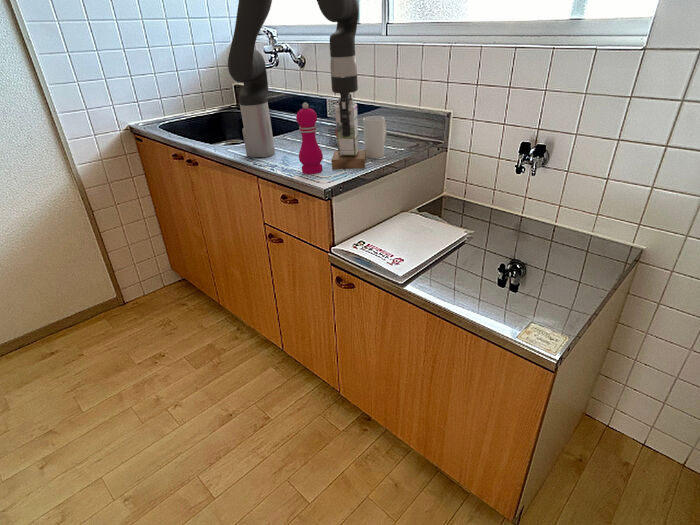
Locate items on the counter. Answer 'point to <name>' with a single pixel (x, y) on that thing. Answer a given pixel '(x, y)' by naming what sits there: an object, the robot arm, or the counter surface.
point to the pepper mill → (309, 141)
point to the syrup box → (350, 144)
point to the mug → (374, 136)
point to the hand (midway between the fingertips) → (347, 133)
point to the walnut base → (349, 161)
